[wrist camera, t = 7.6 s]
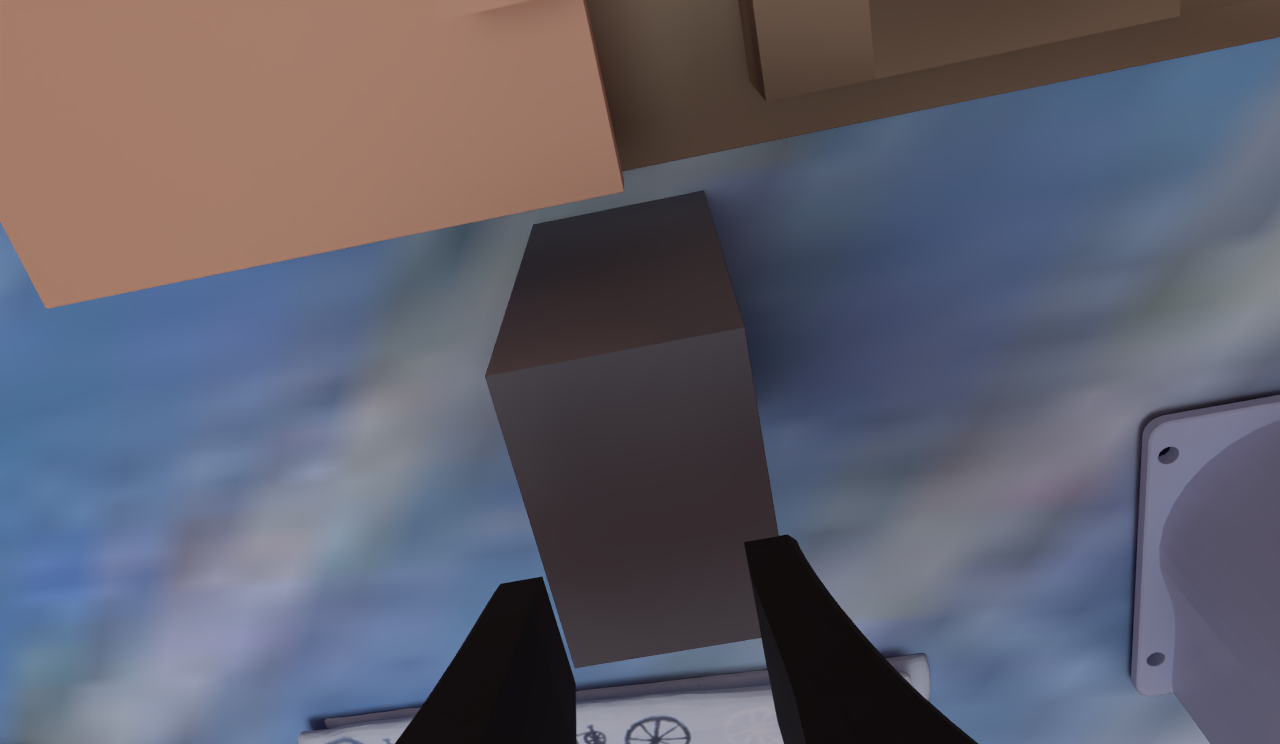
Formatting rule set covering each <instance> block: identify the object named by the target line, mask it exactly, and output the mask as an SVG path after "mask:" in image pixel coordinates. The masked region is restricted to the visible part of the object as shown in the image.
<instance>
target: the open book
mask: <svg viewBox="0 0 1280 744" xmlns="http://www.w3.org/2000/svg"><path fill="white" fill-rule="evenodd" d="M885 659H886V660H887V661H888V662H889V663H890V664H891V665H892V666H893V667H894V668H895V669H896V670H897V671H898V672H899V673H900V674H901V675H902V676H903V677H904V678H905V679H906V680H907V681H908V682H909V683H910V684H911V685H912V686H913V687H914V688H915V689H916V690H917V691H918V692H919V693H920V694H921V695H922V696H923V697H924V698H925V699H927V700H929V693H930V673H929V667H928V663H927V659H926V656H925V655H924V654H922V653H921V654H914V655H907V656H898V657H890V658H885ZM419 710H420V708H409V709H400V710H395V711H388V712H379V713H372V714H365V715H359V716H349V717H340V718H327V719H325V721H324V722H325V725H326V727H327V729H324V730H315V731H303V732H301V734H300V736H299V738H298V744H395V743H396V741H397V740H398V738H399V737H400V736H401V734H402V733H403V732H404V730H405V729H406V727H407V726H408V725H409V723H410V722H411V721H412V719H413V718H414V717H415V715H416V714H417V712H418V711H419ZM576 744H784V742H783V739H782V735H781V732H780V728H779V725H778V722H777V717H776V711H775V706H774V701H773V696H772V690H771V685H770V680H769V675H768V670H760V671H751V672H743V673H734V674H724V675H715V676H706V677H699V678H690V679H683V680H672V681H664V682H657V683H649V684H639V685H629V686H618V687H608V688H599V689H591V690H582V691H576Z"/></svg>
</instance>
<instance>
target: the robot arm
mask: <svg viewBox="0 0 1280 744" xmlns="http://www.w3.org/2000/svg"><path fill="white" fill-rule="evenodd" d="M1167 447H1170V450H1169V451H1168V452H1167V453H1166V454H1164V455H1162V456H1159V453H1160V452H1161V451H1162V450H1163V449H1164V448H1167ZM744 546H745V551H746V557H747V562H748V567H749V573H750V578H751V584H752V589H753V594H754V600H755V605H756V611H757V616H758V621H759V627H760V632H761V637H762V643H763V648H764V654H765V659H766V664H767V669H768V675H769V680H770V685H771V690H772V696H773V701H774V706H775V711H776V717H777V722H778V725H779V728H780V732H781V735H782V739H783V742H784V744H978V743H977V742H976V741H974V740H973V739H972V738H971V737H969V736H968V735H967V734H966V733H965V732H963V731H962V730H961V729H960V728H959V727H957V726H956V725H955V724H954V723H952V722H951V721H950V720H949V719H948V718H947V717H946V716H945V715H943V714H942V713H941V712H940V711H939V710H938V709H937V708H936V707H934V706H933V705H932V704H931V703H930V702H929V701H928V700H927V699H925V698H924V697H923V696H922V695H921V694H920V693H919V692H918V691H917V690H916V689H915V688H914V687H913V686H912V685H911V684H910V683H909V682H908V681H907V680H906V679H905V678H904V677H903V676H902V675H901V674H900V673H899V672H898V671H897V670H896V669H895V668H894V667H893V666H892V665H891V664H890V663H889V662H888V661H887V660H886V659H885V658H884V657H883V656H882V655H881V654H880V653H879V651H878V650H877V649H876V648H875V647H874V646H873V645H872V644H871V643H870V641H869V640H868V639H867V638H866V637H865V636H864V635H863V633H862V632H861V631H860V630H859V629H858V628H857V626H856V625H855V624H854V623H853V622H852V620H851V619H850V618H849V617H848V616H847V614H846V613H845V612H844V611H843V610H842V608H841V607H840V606H839V605H838V603H837V602H836V601H835V599H834V598H833V597H832V596H831V594H830V593H829V592H828V590H827V589H826V587H825V586H824V585H823V583H822V582H821V580H820V579H819V578H818V576H817V575H816V573H815V572H814V570H813V569H812V567H811V566H810V564H809V562H808V561H807V559H806V558H805V556H804V554H803V552H802V551H801V549H800V547H799V545H798V543H797V540H795V539H794V538H792V537H791V536H789V535H782V536H776V537H771V538H765V539H759V540H753V541H747V542H744ZM1153 653H1155V654H1153ZM1151 654H1153V655H1151ZM1150 655H1151V656H1150ZM1131 681H1132V684H1133V685H1134V687H1135V688H1136V690H1137V691H1138V692H1139V693H1140V694H1142V695H1145V696H1156V695H1162V694H1169V693H1174V694H1175V695H1176V696H1177V698H1178V699H1179V701H1180V702H1181V703H1182V705H1183V706H1184V708H1185V709H1186V710H1187V712H1188V713H1189V715H1190V716H1191V717H1192V719H1193V720H1194V721H1195V723H1196V724H1197V726H1198V727H1199V728H1200V730H1201V731H1202V733H1203V734H1204V735H1205V737H1206V738H1207V740H1208V741H1209V742H1210V744H1280V395H1276V396H1270V397H1265V398H1259V399H1253V400H1248V401H1242V402H1236V403H1231V404H1225V405H1219V406H1214V407H1208V408H1202V409H1197V410H1191V411H1185V412H1180V413H1174V414H1168V415H1163V416H1160V417H1157V418H1155V419H1153V420H1152V421H1151V422H1149V423H1148V425H1147V426H1146V427H1145V429H1144V432H1143V435H1142V456H1141V477H1140V498H1139V520H1138V541H1137V562H1136V583H1135V605H1134V626H1133V647H1132V668H1131ZM395 744H576V684H575V680H574V677H573V674H572V671H571V667H570V664H569V661H568V658H567V655H566V651H565V648H564V645H563V642H562V639H561V635H560V632H559V629H558V626H557V622H556V619H555V616H554V613H553V610H552V606H551V603H550V600H549V597H548V593H547V590H546V587H545V584H544V581H543V577H538V578H532V579H526V580H520V581H515V582H509V583H503V584H500V585H499V587H498V588H497V590H496V591H495V592H494V594H493V596H492V597H491V599H490V600H489V602H488V604H487V605H486V607H485V609H484V610H483V612H482V614H481V615H480V617H479V618H478V620H477V622H476V623H475V625H474V627H473V628H472V630H471V632H470V633H469V635H468V636H467V638H466V640H465V641H464V643H463V645H462V646H461V648H460V649H459V651H458V653H457V654H456V656H455V657H454V659H453V660H452V662H451V663H450V665H449V666H448V668H447V669H446V671H445V673H444V674H443V676H442V677H441V679H440V680H439V682H438V683H437V685H436V686H435V688H434V689H433V691H432V692H431V694H430V695H429V697H428V698H427V700H426V701H425V703H424V704H423V705H422V707H421V708H420V710H419V711H418V712H417V714H416V715H415V717H414V718H413V719H412V721H411V722H410V723H409V725H408V726H407V727H406V729H405V730H404V732H403V733H402V734H401V736H400V737H399V738H398V740H397V741H396V743H395Z"/></svg>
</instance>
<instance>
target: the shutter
mask: <svg viewBox="0 0 1280 744" xmlns="http://www.w3.org/2000/svg"><path fill="white" fill-rule="evenodd" d="M620 192H624V178H623V174H622V169H621V164H620V159H619V155H618V150H617V145H616V140H615V136H614V131H613V126H612V121H611V117H610V112H609V107H608V102H607V98H606V93H605V88H604V84H603V79H602V74H601V69H600V65H599V60H598V55H597V50H596V46H595V41H594V36H593V31H592V27H591V22H590V17H589V12H588V8H587V3H586V0H0V222H1V224H2V226H3V228H4V229H5V231H6V233H7V235H8V237H9V239H10V241H11V243H12V245H13V247H14V248H15V250H16V252H17V254H18V256H19V258H20V260H21V262H22V264H23V266H24V268H25V269H26V271H27V273H28V275H29V277H30V279H31V281H32V283H33V285H34V287H35V288H36V290H37V292H38V294H39V296H40V298H41V300H42V302H43V304H44V306H45V307H46V309H47V308H52V307H57V306H62V305H67V304H72V303H77V302H82V301H87V300H92V299H97V298H102V297H107V296H112V295H117V294H121V293H126V292H131V291H136V290H141V289H146V288H151V287H156V286H161V285H166V284H171V283H176V282H181V281H186V280H191V279H195V278H200V277H205V276H210V275H215V274H220V273H225V272H230V271H235V270H240V269H245V268H250V267H255V266H260V265H265V264H270V263H274V262H279V261H284V260H289V259H294V258H299V257H304V256H309V255H314V254H319V253H324V252H329V251H334V250H339V249H344V248H348V247H353V246H358V245H363V244H368V243H373V242H378V241H383V240H388V239H393V238H398V237H403V236H408V235H413V234H418V233H422V232H427V231H432V230H437V229H442V228H447V227H452V226H457V225H462V224H467V223H472V222H477V221H482V220H487V219H492V218H496V217H501V216H506V215H511V214H516V213H521V212H526V211H531V210H536V209H541V208H546V207H551V206H556V205H561V204H566V203H570V202H575V201H580V200H585V199H590V198H595V197H600V196H605V195H610V194H615V193H620Z"/></svg>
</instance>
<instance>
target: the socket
mask: <svg viewBox="0 0 1280 744" xmlns="http://www.w3.org/2000/svg"><path fill="white" fill-rule="evenodd" d="M586 3H587V8H588V12H589V17H590V22H591V27H592V31H593V36H594V41H595V46H596V50H597V55H598V60H599V65H600V69H601V74H602V79H603V84H604V88H605V93H606V98H607V102H608V107H609V112H610V117H611V121H612V126H613V131H614V136H615V140H616V145H617V150H618V155H619V159H620V164H621V169H622V171H626V170H631V169H636V168H641V167H646V166H651V165H656V164H660V163H665V162H670V161H675V160H680V159H685V158H690V157H695V156H700V155H704V154H709V153H714V152H719V151H724V150H729V149H734V148H739V147H744V146H749V145H753V144H758V143H763V142H768V141H773V140H778V139H783V138H788V137H793V136H797V135H802V134H807V133H812V132H817V131H822V130H827V129H832V128H837V127H841V126H846V125H851V124H856V123H861V122H866V121H871V120H876V119H881V118H886V117H890V116H895V115H900V114H905V113H910V112H915V111H920V110H925V109H930V108H934V107H939V106H944V105H949V104H954V103H959V102H964V101H969V100H974V99H978V98H983V97H988V96H993V95H998V94H1003V93H1008V92H1013V91H1018V90H1023V89H1027V88H1032V87H1037V86H1042V85H1047V84H1052V83H1057V82H1062V81H1067V80H1071V79H1076V78H1081V77H1086V76H1091V75H1096V74H1101V73H1106V72H1111V71H1115V70H1120V69H1125V68H1130V67H1135V66H1140V65H1145V64H1150V63H1155V62H1160V61H1164V60H1169V59H1174V58H1179V57H1184V56H1189V55H1194V54H1199V53H1204V52H1208V51H1213V50H1218V49H1223V48H1228V47H1233V46H1238V45H1243V44H1248V43H1252V42H1257V41H1262V40H1267V39H1272V38H1277V37H1280V0H586Z"/></svg>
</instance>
